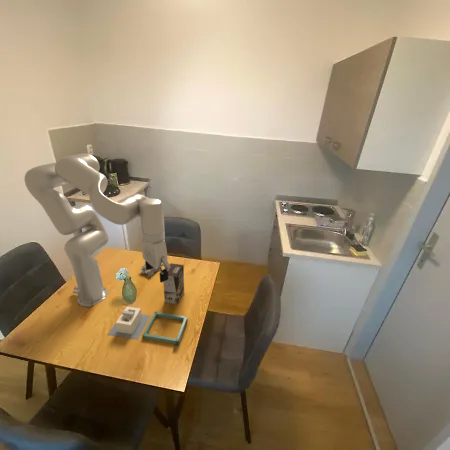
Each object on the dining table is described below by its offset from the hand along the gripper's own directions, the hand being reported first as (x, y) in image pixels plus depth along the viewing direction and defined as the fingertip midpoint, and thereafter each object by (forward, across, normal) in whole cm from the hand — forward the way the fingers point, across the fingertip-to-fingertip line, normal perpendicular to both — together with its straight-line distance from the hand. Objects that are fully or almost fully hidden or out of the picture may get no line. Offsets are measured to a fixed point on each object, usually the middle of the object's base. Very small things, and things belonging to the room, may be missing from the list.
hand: (157, 274), depth 94 cm
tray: (+23, +6, -2) cm, 24 cm away
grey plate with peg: (+23, -5, -11) cm, 26 cm away
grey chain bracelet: (+24, -32, +15) cm, 43 cm away
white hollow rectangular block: (+22, -5, -11) cm, 25 cm away
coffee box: (+23, -6, +12) cm, 27 cm away
